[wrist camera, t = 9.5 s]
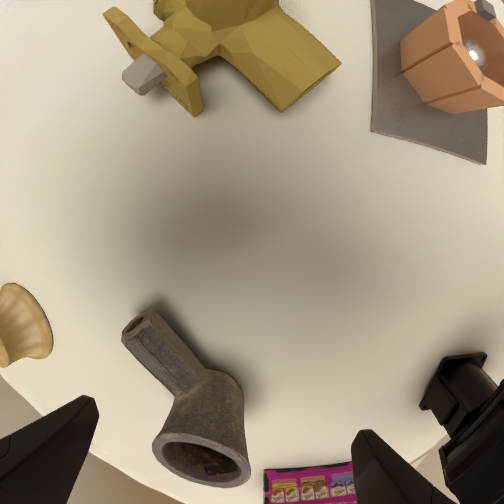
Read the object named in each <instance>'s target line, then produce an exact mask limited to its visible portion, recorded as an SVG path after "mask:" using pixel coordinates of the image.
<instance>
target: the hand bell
mask: <svg viewBox="0 0 504 504" xmlns="http://www.w3.org/2000/svg"><path fill="white" fill-rule="evenodd" d="M52 346H53V338H52V332H51V328H50V325H49V323H48V320H47V318H46V316H45V314H44V312H43V310H42V308H41V307H40V305H39V304H38V303H37V301H36V300H35V299H34V297H33V296H32V295H31V294H30V293H29V292H28V291H27V290H25V289H24V288H23V287H21V286H19V285H17V284H15V283H8V284H5V285H4V286H2V288H1V289H0V367H2V368H5V367H8V366H9V365H10V364H12V363H13V362H15V361H17V360H19V359H21V358H25V357H30V358H33V359H43V358H46V357H47V356H48V355H49V354H50V353H51V350H52Z"/></svg>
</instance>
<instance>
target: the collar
mask: <svg viewBox="0 0 504 504" xmlns="http://www.w3.org/2000/svg"><path fill="white" fill-rule="evenodd" d="M461 35H464V36H468V37H470V38H472V39H474V40H475V41H477V42H478V43H479V44H480V45H481V46H482V48H483V49H484V51H485V53H486V55H487V58H488V68H487V71H486V73H485V74H484V75H483V74H482V72H481V71H480V69H479V68H478V66H477V64H476V63H475V61H474V60H473V58H472V57H471V55H470V54H469V53H468V51H467V50H466V48H465V47H464V46H463V44H462V38H461ZM400 47H401V68H402V71H405V72H404V73H403V74H404V76H405V77H406V78H407V80H408V81H409V82H410V84H411V85H412V86H413V88H414V89H415V90H416V92H417V93H418V95H419V96H420V97H421V99H422V100H423V102H424V103H425V102H427V105H429V106H432V107H434V108H437V109H440V110H443V111H445V112H448V113H450V114H459V113H464V112H469V111H474V110H480V109H486V108H491V107H497V106H504V28H503V27H502V25H501V24H500V22H499V21H498V19H497V18H496V14H495V11H494V7H493V5H491V4H490V3H488V2H487V1H485V0H477V1H475V2H472V1H471V0H454V1H452V2H450V3H448V4H445V5H444V6H442V7H441V8H440V9H438V10H437V11H436V12H435V13H433V14H432V15H431V16H429V17H428V18H427V19H426V20H424V21H423V22H422V23H421V24H419V25H418V26H417V27H416V28H414V29H413V30H412V31H411V32H410V33H408V34H407V35H406V36H405V37H403V38H402V39H401V41H400Z"/></svg>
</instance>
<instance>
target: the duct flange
mask: <svg viewBox="0 0 504 504" xmlns="http://www.w3.org/2000/svg"><path fill="white" fill-rule="evenodd" d="M371 12H372V31H373V100H372V120H371V132H374V133H378V134H383V135H387V136H391V137H395V138H399V139H403V140H406V141H410V142H414V143H417V144H421V145H424V146H427V147H431V148H434V149H437V150H440V151H443V152H446V153H449V154H452V155H455V156H458V157H461V158H464V159H466V160H469V161H472V162H475V163H477V164H480V165H486V160H487V108H486V109H480V110H474V111H469V112H464V113H459V114H450V113H448V112H445V111H443V110H440V109H437V108H434V107H432V106H429V105H427V102H425V103H424V102H423V100H422V99H421V97H420V96H419V95H418V93H417V92H416V90H415V89H414V88H413V86H412V85H411V84H410V82H409V81H408V80H407V78H406V77H405V76H404V74H403V73H404V72H405V71H402V68H401V47H400V41H401V39H402V38H403V37H405V36H406V35H407V34H408V33H410V32H411V31H412V30H413V29H414V28H416V27H417V26H418V25H419V24H421V23H422V22H423V21H424V20H426V19H427V18H428V17H429V16H431V15H432V14H433V13H435V12H436V10H434V9H432V8H430V7H428V6H425V5H423V4H421V3H418V2H416V1H414V0H371ZM461 38H462V44H463V46H464V47H465V48H466V50H467V51H468V53H469V54H470V55H471V57H472V58H473V60H474V61H475V63H476V64H477V66H478V68H479V69H480V71H481V72H482V74H483V75H484V74H485V73H486V71H487V68H488V58H487V55H486V53H485V51H484V49H483V48H482V46H481V45H480V44H479V43H478V42H477V41H475V40H474V39H472V38H470V37H468V36H464V35H461Z"/></svg>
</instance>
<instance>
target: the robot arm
mask: <svg viewBox="0 0 504 504" xmlns="http://www.w3.org/2000/svg"><path fill="white" fill-rule="evenodd" d="M486 358H487V354H486V353H484V352H483V353H477V354H469V355H462V356H453V357H446V358H444V359H443V360H442V362H441V364H440V366H439V369H438V371H437V373H436V375H435V377H434V379H433V381H432V383H431V385H430V387H429V389H428V391H427V393H426V395H425V397H424V399H423V400H422V402H421V404H420V406H419V407H420V409H421V410H422V411H423V410H429V409H431V410H432V412H433V413H434V415H435V417H436V418H437V420H438V422H439V424H440V425H441V426H444V428H445V429H446V431H447V433H448V434H449V436H450V438H451V439H450V440H449V441H448V442H447V443H446V444H445V445H444V446H442V447H441V448H440V449H439V450H438V451H439V454H440V460H441V464H442V469H443V474H444V479H445V485H446V486H447V487H448V488H449V490H450V491H451V492H452V493H453V494H454V495H455V496H456V497H457V499H458V500H459V502H460V504H504V379H503V380H502V381H501V382H500V385H499V386H497V385H496V384H495V383H494V381H493V380H492V379H491V378H490V377H489V376H488V375H487V374H486V372H485V371H484V370H483V369H482V367H483V365H484V362H485V360H486ZM98 419H99V412H98V409H97V405H96V402H95V400H94V398H92V397H89V396H86V395H82V396H80V397H78V398H76V399H75V400H73V401H71V402H69V403H67V404H66V405H64V406H62V407H60V408H58V409H57V410H55V411H53V412H51V413H49V414H47V415H46V416H44V417H42V418H40V419H38V420H36V421H35V422H33V423H31V424H29V425H27V426H25V427H23V428H21V429H19V430H18V431H16V432H14V433H12V434H11V435H8V436H6V437H4V438H2V439H0V504H66V503H67V501H68V498H69V496H70V493H71V491H72V489H73V486H74V484H75V481H76V479H77V476H78V474H79V472H80V470H81V467H82V465H83V463H84V461H85V458H86V456H87V454H88V451H89V448H90V445H91V442H92V438H93V435H94V432H95V429H96V426H97V422H98ZM351 455H352V468H353V481H354V489H355V494H356V499H357V504H457V503H455V502H454V501H452V500H451V499H449V498H448V497H447V496H446V495H444V494H443V493H442V492H441V491H439V490H438V489H437V488H436V487H434V486H433V485H432V484H431V483H430V482H429V481H428V480H427V479H425V478H424V477H423V476H422V475H421V474H420V473H419V472H417V471H416V470H415V469H414V468H413V467H412V466H411V465H410V464H409V463H408V462H406V461H405V460H404V459H403V458H402V457H401V456H400V455H399V454H398V453H397V452H395V451H394V450H393V449H392V448H391V447H390V446H389V445H388V444H387V443H386V442H385V441H384V440H382V439H381V438H380V437H379V436H378V435H377V434H376V433H375V432H374V431H373V430H371V429H364V430H360V431H359V432H358V434H357V435H356V437H355V439H354V441H353V443H352V445H351Z"/></svg>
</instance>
